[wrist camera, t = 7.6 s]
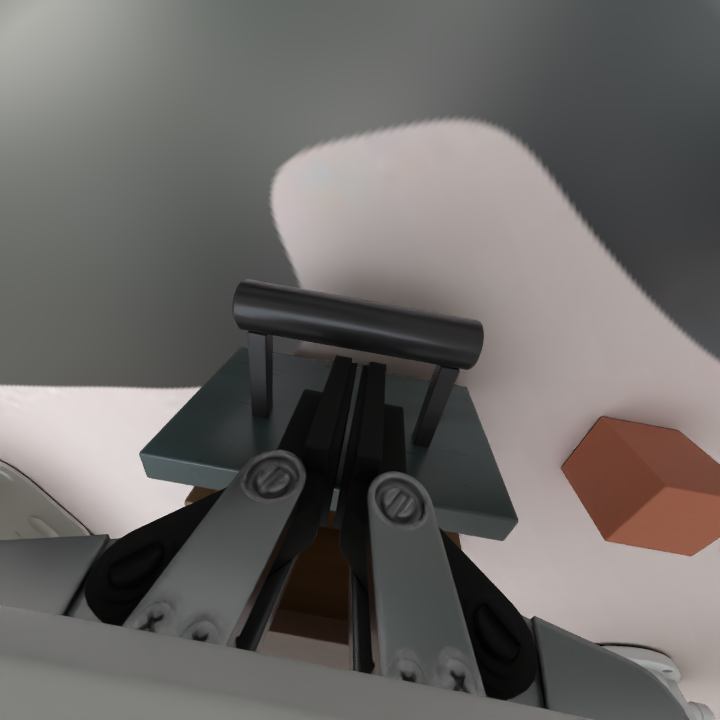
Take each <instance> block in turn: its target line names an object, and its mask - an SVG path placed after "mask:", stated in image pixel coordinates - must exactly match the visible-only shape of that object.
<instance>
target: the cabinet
mask: <svg viewBox="0 0 720 720" xmlns="http://www.w3.org/2000/svg"><path fill="white" fill-rule="evenodd" d="M260 653H263V654H269V655H274V656H279V657H284V658H289V659H295V660H300V661H305V662H310V663H315V664H320V665H326V666H331V667H336V668H341V669H346V670H349V620H345V619H339V618H334V617H328V616H322V615H317V614H311V613H306V612H300V611H294V610H289V609H283V608H277V611H276V613H275V616H274V618H273V621H272V623H271V625H270V628H269V630H268V633H267V635H266V638H265V640H264V643H263V645H262V648H261V650H260Z"/></svg>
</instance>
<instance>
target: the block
mask: <svg viewBox="0 0 720 720" xmlns="http://www.w3.org/2000/svg"><path fill="white" fill-rule="evenodd" d="M561 470H562V471H563V473H564V474H565V476H566V478H567V479H568V481H569V483H570V484H571V486H572V488H573V489H574V491H575V492H576V494H577V496H578V497H579V499H580V501H581V502H582V504H583V505H584V507H585V509H586V510H587V512H588V514H589V515H590V517H591V519H592V520H593V522H594V523H595V525H596V527H597V528H598V530H599V532H600V533H601V535H602V537H603V538H604V540H605V541H608V542H614V543H619V544H625V545H631V546H636V547H642V548H647V549H653V550H659V551H664V552H670V553H675V554H681V555H686V556H693V555H694V554H696V553H697V552H699V551H700V550H702V549H703V548H705V547H706V546H708V545H709V544H711V543H712V542H714V541H715V540H717V539H718V538H720V464H718V463H717V462H716V461H715V460H714V459H712V458H711V457H710V456H709V455H708V454H706V453H705V452H704V451H703V450H702V449H700V448H699V447H698V446H697V445H696V444H694V443H693V442H692V441H691V440H690V439H688V438H687V437H686V436H685V435H684V434H682V433H681V432H680V431H678V430H672V429H667V428H661V427H656V426H650V425H644V424H639V423H633V422H628V421H622V420H617V419H611V418H606V417H601V418H600V419H599V420H598V422H597V423H596V424H595V425H594V427H593V428H592V429H591V430H590V432H589V433H588V434H587V436H586V437H585V438H584V439H583V441H582V442H581V443H580V445H579V446H578V447H577V448H576V450H575V451H574V452H573V453H572V455H571V456H570V457H569V459H568V460H567V461H566V462H565V464H564V465H563V466H562V468H561Z"/></svg>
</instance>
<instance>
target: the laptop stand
mask: <svg viewBox="0 0 720 720" xmlns="http://www.w3.org/2000/svg"><path fill="white" fill-rule="evenodd" d="M88 535H90V533H89V532H88V531H87V529H86V528H85V527H84V526H83V525H82V524H80V523H79V522H78V521H77V520H76V519H75V518H73V517H72V516H71V515H70V514H69V513H68V512H66V511H65V510H64V509H63V508H62V507H61V506H59V505H58V504H57V503H56V502H55V501H54V500H53V499H51V498H50V497H49V496H48V495H47V494H46V493H45V492H43V491H42V490H41V489H40V488H39V487H38V486H36V485H35V484H34V483H33V482H32V481H30V480H29V479H28V478H26V477H25V476H24V475H22V474H21V473H20V472H18V471H17V470H15V469H14V468H12V467H10V466H9V465H7V464H5V463H3V462H1V461H0V540H16V539H34V538H52V537H70V536H88Z"/></svg>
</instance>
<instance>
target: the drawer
mask: <svg viewBox="0 0 720 720" xmlns="http://www.w3.org/2000/svg"><path fill="white" fill-rule="evenodd" d="M233 319H234V322H235V324H236V326H237V327H238V328H240V329H243V330H248V348H247V347H240V348H239V349H238V350H237V351H236V352H235V353H234V354H233V355H232V356H231V357H230V358H229V359H228V360H227V361H226V362H225V363H224V365H223V366H222V367H221V368H220V369H219V370H218V371H217V372H216V373H215V374H214V375H213V376H212V377H211V378H210V379H209V380H208V381H207V382H206V384H204V385H203V386H202V387H201V389H200V390H199V391H198V392H197V393H196V394H195V395H194V396H193V397H192V398H191V399H190V400H189V401H188V402H187V403H186V404H185V405H184V406H183V407H182V408H181V409H180V411H179V412H178V413H177V414H176V415H175V416H174V417H173V418H172V419H171V420H170V421H169V422H168V423H167V424H166V425H165V426H164V427H163V428H162V429H161V430H160V432H159V433H158V434H157V435H156V436H155V437H154V438H153V439H152V440H151V441H150V442H149V443H148V444H147V445H146V446H145V447H144V448H143V449H142V450H141V451H140V454H139V455H140V458H141V461H142V463H143V466H144V469H145V472H146V475H147V477H149V478H153V479H158V480H164V481H169V482H175V483H181V484H186V485H192V486H194V488H193V489H192V491H191V492H190V494H189V495H188V497H187V498H186V500H185V506H187V505H190V504H192V503H194V502H196V501H198V500H200V499H202V498H205V497H207V496H209V495H211V494H213V493H215V492H217V491H220V490H222V489H224V488H226V487H228V486H229V484H230V483H231V482H232V480H233V479H234V478H235V476H236V475H237V474H238V472H239V471H240V470H241V468H242V467H243V466H244V465H245V464H246V463H247V462H248V461H249V460H250V459H251V458H252V457H254V456H256V455H257V454H259V453H262V452H265V451H268V450H277V448H278V446H279V444H280V441H281V439H282V437H283V435H284V433H285V430H286V428H287V426H288V424H289V422H290V419H291V417H292V415H293V413H294V411H295V408H296V406H297V404H298V402H299V400H300V397H301V395H302V393H303V391H304V390H305V389H310V390H315V391H320V392H323V391H324V388H325V385H326V382H327V379H328V376H329V374H330V371H331V368H332V365H333V363H330V362H324V361H319V360H313V359H308V358H302V357H297V356H291V355H285V354H280V353H274V352H273V348H272V347H273V345H272V342H273V341H272V340H273V337H272V336H273V335H276V336H281V337H287V338H292V339H298V340H303V341H309V342H314V343H320V344H325V345H331V346H337V347H342V348H348V349H353V350H359V351H364V352H370V353H375V354H381V355H387V356H392V357H398V358H403V359H409V360H414V361H420V362H425V363H431V364H436V367H435V370H434V373H433V375H432V378H431V381H430V380H424V379H419V378H413V377H408V376H402V375H397V374H391V373H386V378H385V403H384V404H390V405H395V406H401V407H403V411H404V429H405V449H406V469H407V475H409V476H411V477H413V478H415V479H416V480H417V481H418V482H420V483H421V484H422V485H423V487H424V488H425V489H426V490H427V492H428V494H429V496H430V499H431V501H432V504H433V508H434V512H435V515H436V519H437V522H438V526H439V527H440V528H441V529H442V530H443V531H444V532H445V534H446V535H447V536H448V537H449V538H450V539H451V540H452V541H453V542H454V543H455V544H456V545H457V546H458V547H459V548H460V549H461V545H460V539H459V534H458V533H460V534H466V535H471V536H477V537H482V538H488V539H493V540H499V541H503V540H505V538H506V537H507V536H508V535H509V533H510V532H511V531H512V530H513V528H514V527H515V526H516V524H517V523H518V518H517V515H516V512H515V510H514V507H513V505H512V502H511V500H510V497H509V494H508V492H507V489H506V487H505V484H504V481H503V479H502V476H501V474H500V471H499V469H498V466H497V463H496V461H495V458H494V456H493V453H492V451H491V448H490V445H489V443H488V440H487V438H486V435H485V433H484V430H483V427H482V425H481V422H480V420H479V417H478V415H477V412H476V409H475V407H474V404H473V402H472V399H471V397H470V394H469V391H468V389H467V387H463V386H458V385H454V384H455V381H456V379H457V376H458V374H459V371H460V370H459V369H464V370H468V369H471V368H472V367H473V366H474V365H475V364H476V362H477V360H478V358H479V356H480V353H481V350H482V346H483V339H484V330H483V326H482V324H481V322H479V321H477V320H472V319H466V318H461V317H455V316H450V315H444V314H439V313H433V312H428V311H422V310H416V309H411V308H405V307H400V306H394V305H389V304H383V303H378V302H372V301H367V300H361V299H355V298H350V297H344V296H339V295H333V294H328V293H322V292H317V291H311V290H306V289H300V288H294V287H289V286H283V285H278V284H272V283H267V282H261V281H255V280H250V279H246V280H243V281H241V283H240V284H239V285H238V287H237V289H236V292H235V295H234V300H233ZM361 371H362V368H358V367H357V370H356V376H355V381H354V387H353V393H352V398H351V404H350V409H349V415H348V421H347V426H346V431H345V436H344V442H343V447H342V452H341V457H340V462H339V467H338V472H337V477H336V482H335V487H334V492H333V497H332V502H331V507H330V512H329V517H328V522H327V526H322V525H319V528H318V533H317V537H315V539H314V543H313V544H312V545H311V546H309V547H308V548H306V549H305V550H303V551H302V552H301V553H299V555H298V559H297V562H296V564H295V567H294V569H293V571H292V574H291V576H290V579H289V581H288V584H287V586H286V589H285V591H284V594H283V596H282V598H281V601H280V603H279V606H278V608H283V609H289V610H294V611H300V612H306V613H311V614H317V615H322V616H328V617H334V618H339V619H345V620H349V617H348V565H349V563H348V562H347V560H346V559H345V557H344V556H343V554H342V553H341V551H340V550H339V542H338V541H339V534H340V529H338V528H333V524H334V518H335V513H336V507H337V502H338V496H339V491H340V485H341V480H342V474H343V468H344V463H345V457H346V452H347V446H348V441H349V435H350V430H351V424H352V419H353V414H354V408H355V403H356V398H357V392H358V387H359V382H360V377H361Z"/></svg>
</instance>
